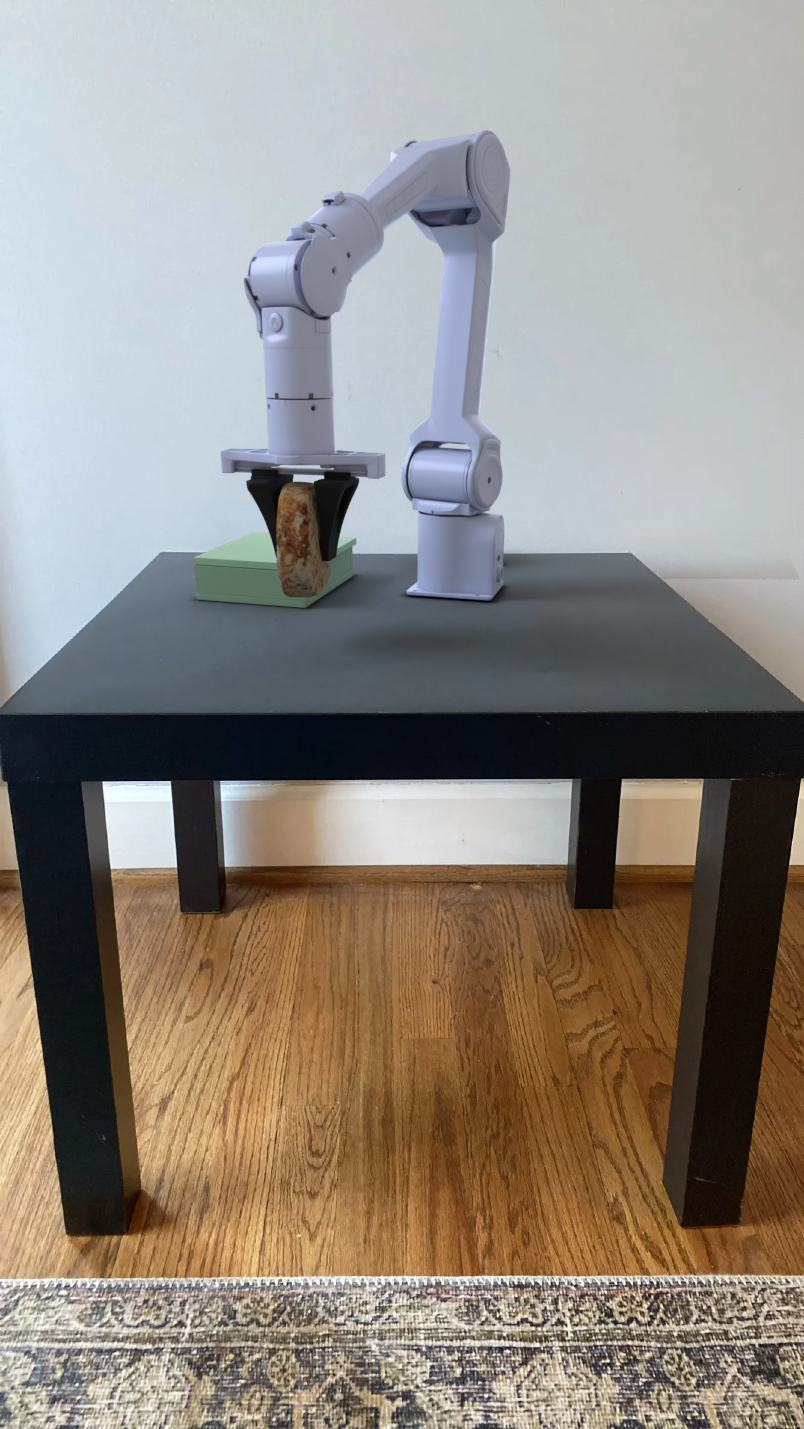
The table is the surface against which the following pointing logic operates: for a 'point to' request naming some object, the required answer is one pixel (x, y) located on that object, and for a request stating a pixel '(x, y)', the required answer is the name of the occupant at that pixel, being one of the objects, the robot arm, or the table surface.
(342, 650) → the table surface
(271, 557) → the lunchbox lid
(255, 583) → the box
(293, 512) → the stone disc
